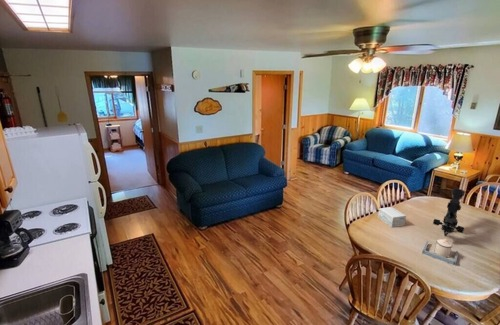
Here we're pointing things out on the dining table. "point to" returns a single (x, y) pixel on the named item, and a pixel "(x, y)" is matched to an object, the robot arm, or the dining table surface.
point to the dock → (439, 256)
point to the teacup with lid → (443, 247)
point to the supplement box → (391, 216)
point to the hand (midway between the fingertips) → (445, 236)
